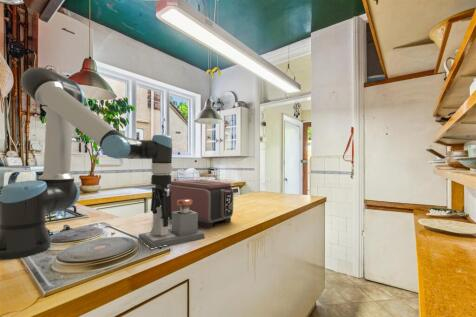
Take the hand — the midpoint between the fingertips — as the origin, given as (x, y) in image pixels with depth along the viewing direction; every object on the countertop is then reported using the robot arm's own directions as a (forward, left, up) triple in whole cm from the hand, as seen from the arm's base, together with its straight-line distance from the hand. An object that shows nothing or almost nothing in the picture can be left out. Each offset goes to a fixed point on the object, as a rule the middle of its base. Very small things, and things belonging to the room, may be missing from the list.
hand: (160, 232), depth 94 cm
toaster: (+30, +18, -4) cm, 35 cm away
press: (+5, 0, -3) cm, 6 cm away
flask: (0, 0, -1) cm, 1 cm away
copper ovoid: (+11, 0, +3) cm, 11 cm away
